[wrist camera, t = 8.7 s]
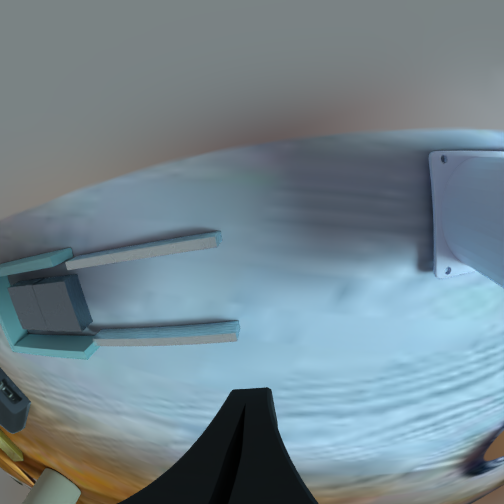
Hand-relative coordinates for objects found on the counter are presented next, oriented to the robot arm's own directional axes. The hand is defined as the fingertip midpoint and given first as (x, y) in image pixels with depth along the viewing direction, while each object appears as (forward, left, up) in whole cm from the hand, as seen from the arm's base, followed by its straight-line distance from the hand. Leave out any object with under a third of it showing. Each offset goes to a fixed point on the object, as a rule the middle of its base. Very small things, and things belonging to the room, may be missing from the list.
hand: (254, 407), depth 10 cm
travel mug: (+42, +35, -10) cm, 55 cm away
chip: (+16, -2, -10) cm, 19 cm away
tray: (+19, -2, -9) cm, 21 cm away
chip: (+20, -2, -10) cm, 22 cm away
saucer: (+55, +28, -10) cm, 62 cm away
